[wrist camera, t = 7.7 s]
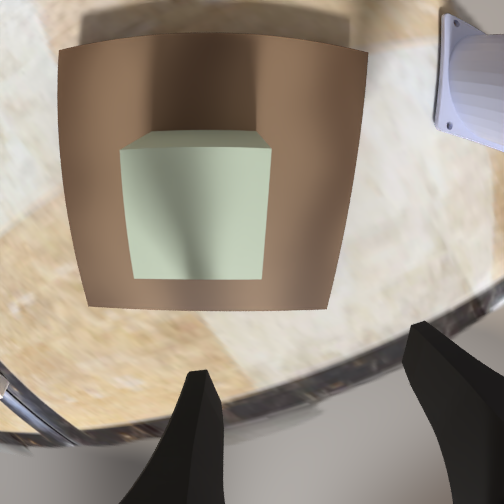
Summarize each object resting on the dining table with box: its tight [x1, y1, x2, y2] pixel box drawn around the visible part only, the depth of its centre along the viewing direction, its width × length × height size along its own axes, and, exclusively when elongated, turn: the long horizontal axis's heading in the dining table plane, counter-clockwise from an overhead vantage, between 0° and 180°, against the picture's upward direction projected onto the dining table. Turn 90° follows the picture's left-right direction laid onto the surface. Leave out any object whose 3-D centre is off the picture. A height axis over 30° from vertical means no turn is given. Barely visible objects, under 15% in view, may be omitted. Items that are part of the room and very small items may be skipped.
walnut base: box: [57, 33, 368, 311], centre depth 15 cm, size 14×14×2 cm
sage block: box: [120, 130, 272, 280], centre depth 12 cm, size 4×4×4 cm
